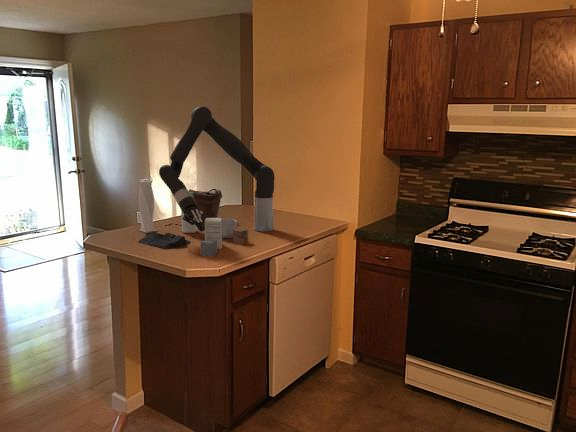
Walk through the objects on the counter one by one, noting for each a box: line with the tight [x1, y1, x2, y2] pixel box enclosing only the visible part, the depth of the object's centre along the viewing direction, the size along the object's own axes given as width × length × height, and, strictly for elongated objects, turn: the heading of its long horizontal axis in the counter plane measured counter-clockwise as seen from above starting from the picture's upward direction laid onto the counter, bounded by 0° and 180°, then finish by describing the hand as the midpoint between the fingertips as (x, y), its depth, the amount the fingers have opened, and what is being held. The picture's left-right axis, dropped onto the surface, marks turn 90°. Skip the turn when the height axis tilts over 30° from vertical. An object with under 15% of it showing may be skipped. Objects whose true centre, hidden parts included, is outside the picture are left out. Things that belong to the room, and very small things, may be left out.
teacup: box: [222, 218, 238, 239], centre depth 243 cm, size 14×11×8 cm
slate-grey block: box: [199, 239, 218, 258], centre depth 212 cm, size 5×5×6 cm
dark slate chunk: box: [137, 232, 191, 250], centre depth 230 cm, size 15×22×5 cm
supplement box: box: [204, 217, 223, 250], centre depth 224 cm, size 7×7×13 cm
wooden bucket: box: [188, 188, 223, 223], centre depth 278 cm, size 18×20×18 cm
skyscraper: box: [138, 176, 159, 234], centre depth 248 cm, size 8×8×28 cm
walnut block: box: [232, 227, 249, 245], centre depth 233 cm, size 5×5×6 cm
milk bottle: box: [180, 192, 198, 234], centre depth 250 cm, size 8×8×20 cm
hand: (203, 230), depth 228 cm, fingers closed
